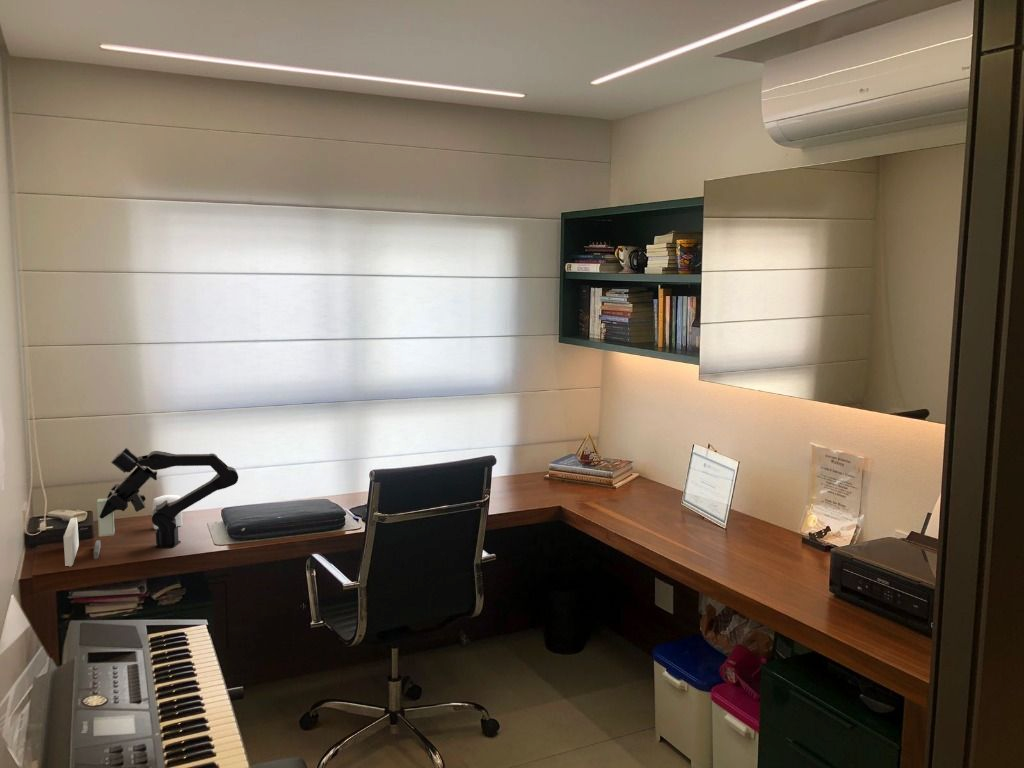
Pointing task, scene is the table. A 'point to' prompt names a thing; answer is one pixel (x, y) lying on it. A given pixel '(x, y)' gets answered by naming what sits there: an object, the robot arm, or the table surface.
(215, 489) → the robot arm
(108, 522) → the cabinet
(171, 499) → the photo printer
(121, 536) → the table surface
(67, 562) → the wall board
